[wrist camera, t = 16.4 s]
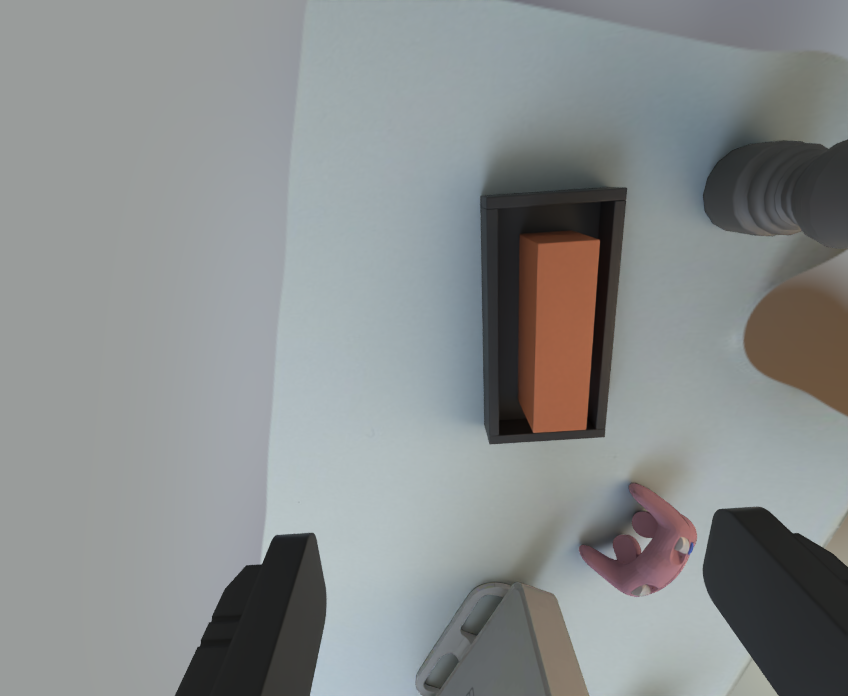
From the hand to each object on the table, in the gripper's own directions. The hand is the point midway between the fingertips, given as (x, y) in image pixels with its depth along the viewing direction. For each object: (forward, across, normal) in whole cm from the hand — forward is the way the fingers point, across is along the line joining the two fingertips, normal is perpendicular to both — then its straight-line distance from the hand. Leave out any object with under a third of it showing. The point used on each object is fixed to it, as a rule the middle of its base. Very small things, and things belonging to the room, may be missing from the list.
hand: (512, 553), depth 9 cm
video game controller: (+28, -17, +26) cm, 42 cm away
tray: (+28, -8, +4) cm, 29 cm away
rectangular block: (+28, -8, +4) cm, 29 cm away
